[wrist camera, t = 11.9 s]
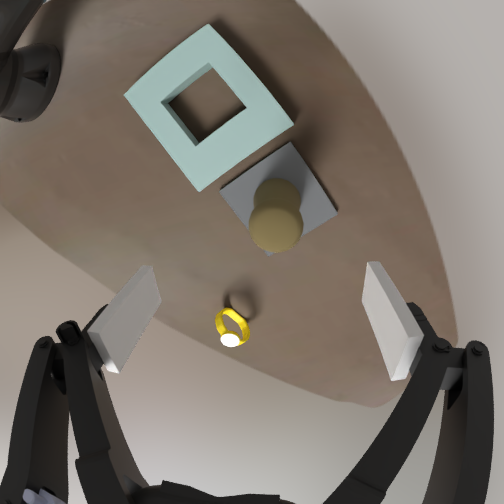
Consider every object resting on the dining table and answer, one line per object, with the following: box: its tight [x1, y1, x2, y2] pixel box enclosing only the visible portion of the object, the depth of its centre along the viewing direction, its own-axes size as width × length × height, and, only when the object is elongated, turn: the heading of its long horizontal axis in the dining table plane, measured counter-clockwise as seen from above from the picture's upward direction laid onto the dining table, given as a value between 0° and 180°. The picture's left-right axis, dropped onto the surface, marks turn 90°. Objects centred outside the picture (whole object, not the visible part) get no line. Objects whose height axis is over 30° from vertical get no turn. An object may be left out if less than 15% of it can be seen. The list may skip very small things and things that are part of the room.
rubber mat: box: [219, 142, 338, 257], centre depth 34 cm, size 11×11×1 cm
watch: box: [215, 308, 250, 347], centre depth 40 cm, size 6×3×6 cm, turn 45°
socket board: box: [124, 24, 294, 192], centre depth 29 cm, size 17×14×2 cm
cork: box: [249, 178, 304, 253], centre depth 29 cm, size 6×6×11 cm
